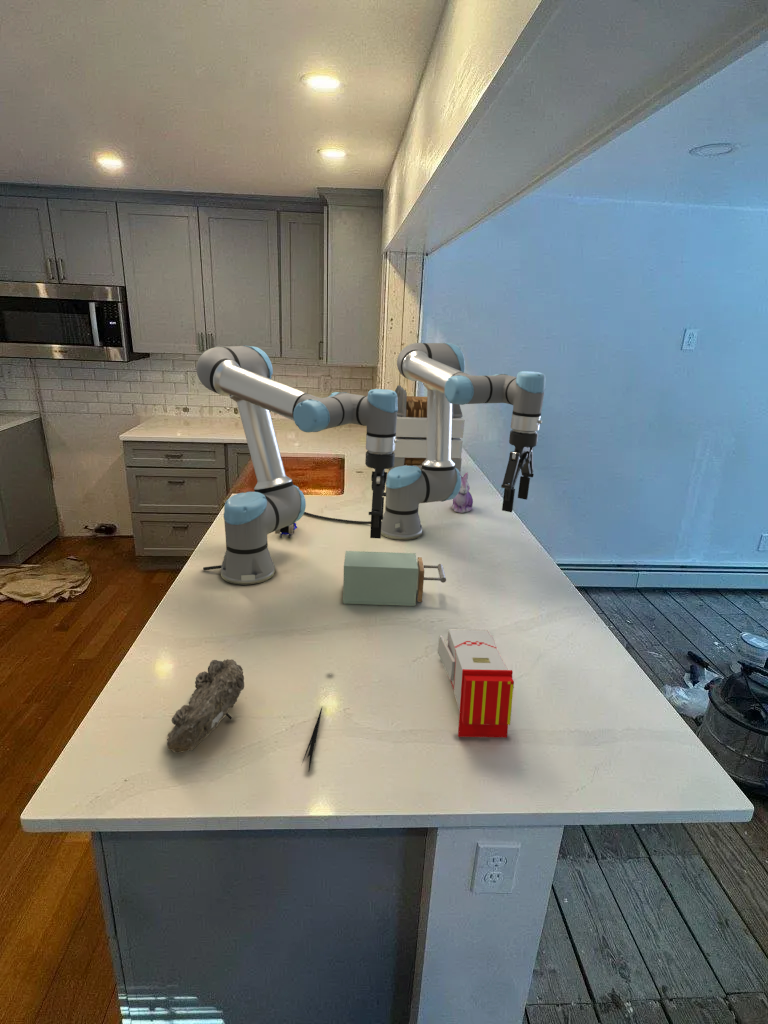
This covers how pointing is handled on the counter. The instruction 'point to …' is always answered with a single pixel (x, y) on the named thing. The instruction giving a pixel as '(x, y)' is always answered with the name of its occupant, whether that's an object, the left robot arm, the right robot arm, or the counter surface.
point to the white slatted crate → (421, 431)
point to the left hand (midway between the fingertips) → (376, 528)
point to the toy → (478, 682)
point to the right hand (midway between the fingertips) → (515, 504)
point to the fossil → (206, 705)
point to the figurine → (463, 497)
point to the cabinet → (380, 578)
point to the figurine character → (287, 530)
